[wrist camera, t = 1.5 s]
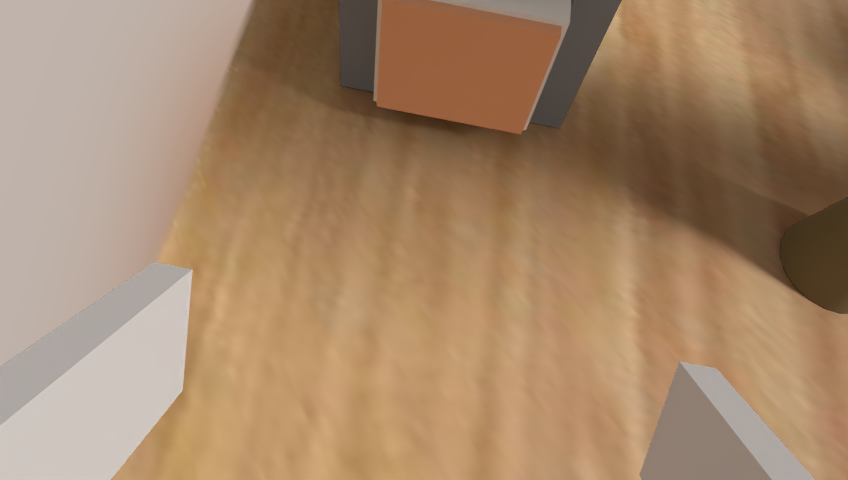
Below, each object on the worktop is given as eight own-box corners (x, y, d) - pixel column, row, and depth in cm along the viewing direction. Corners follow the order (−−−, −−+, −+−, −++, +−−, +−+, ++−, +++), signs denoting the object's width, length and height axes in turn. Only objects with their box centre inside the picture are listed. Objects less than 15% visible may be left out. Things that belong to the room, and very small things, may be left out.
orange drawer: (396, 13, 38) (406, -111, 31) (534, 40, 38) (575, -76, 31) (371, 108, 34) (375, -7, 27) (525, 138, 34) (569, 31, 27)
